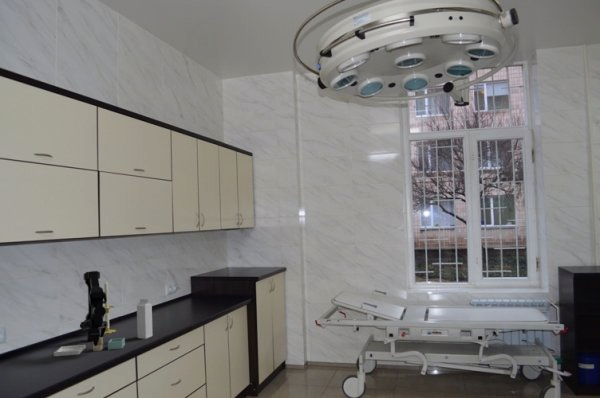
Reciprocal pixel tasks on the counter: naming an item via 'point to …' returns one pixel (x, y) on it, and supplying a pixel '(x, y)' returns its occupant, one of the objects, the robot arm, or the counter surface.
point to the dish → (69, 350)
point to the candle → (107, 309)
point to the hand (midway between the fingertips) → (98, 343)
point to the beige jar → (98, 345)
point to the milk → (144, 319)
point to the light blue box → (116, 343)
